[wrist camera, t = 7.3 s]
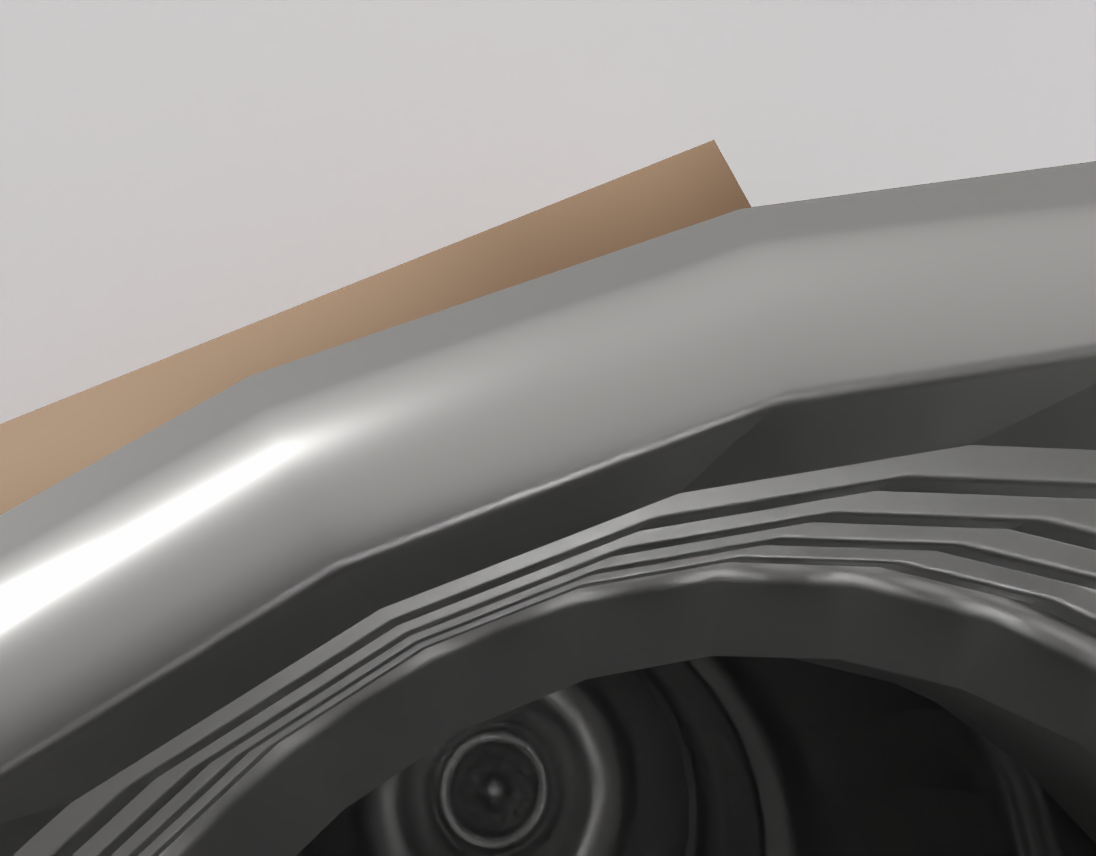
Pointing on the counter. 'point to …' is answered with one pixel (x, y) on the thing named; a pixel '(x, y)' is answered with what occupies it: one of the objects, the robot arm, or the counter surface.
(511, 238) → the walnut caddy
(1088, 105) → the counter surface
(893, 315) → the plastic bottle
